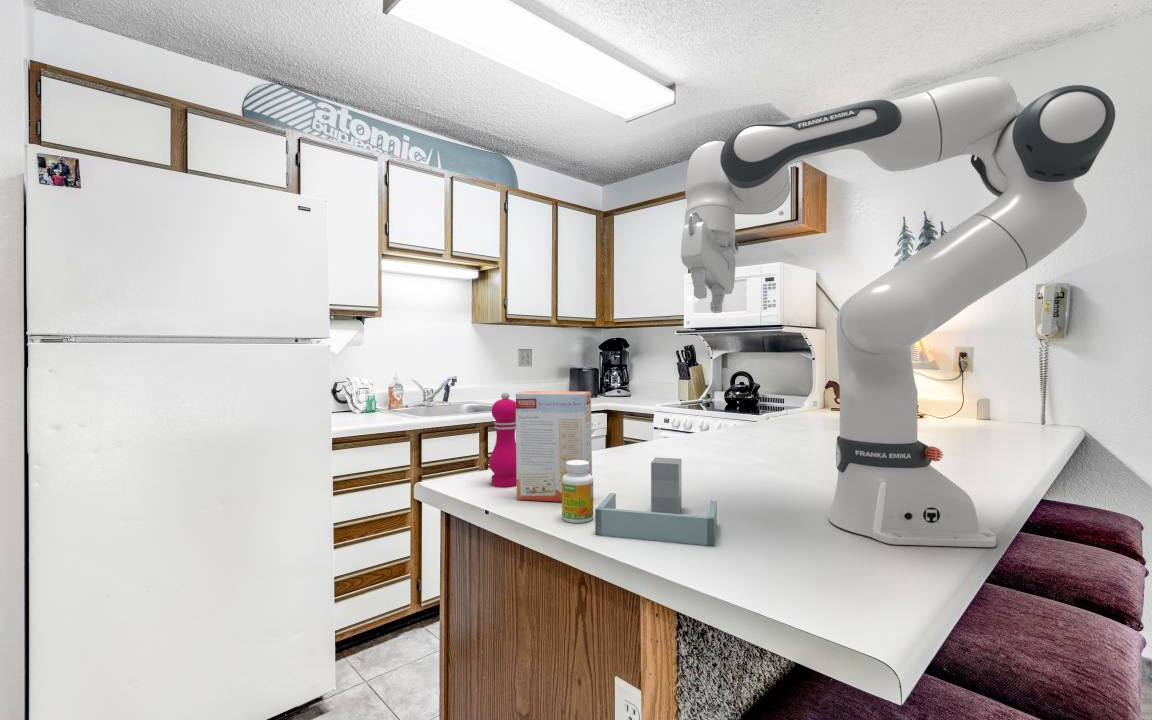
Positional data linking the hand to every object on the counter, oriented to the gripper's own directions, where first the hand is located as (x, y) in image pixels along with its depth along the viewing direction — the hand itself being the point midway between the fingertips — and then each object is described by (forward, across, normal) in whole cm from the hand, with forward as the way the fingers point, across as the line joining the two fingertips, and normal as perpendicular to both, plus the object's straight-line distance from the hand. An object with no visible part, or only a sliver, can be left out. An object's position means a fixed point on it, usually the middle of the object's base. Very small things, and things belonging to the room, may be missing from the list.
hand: (708, 305), depth 95 cm
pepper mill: (+34, +6, +46) cm, 58 cm away
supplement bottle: (+38, -7, +20) cm, 44 cm away
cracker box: (+36, +2, +31) cm, 47 cm away
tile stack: (+36, +5, +9) cm, 37 cm away
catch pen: (+38, -5, +6) cm, 39 cm away
